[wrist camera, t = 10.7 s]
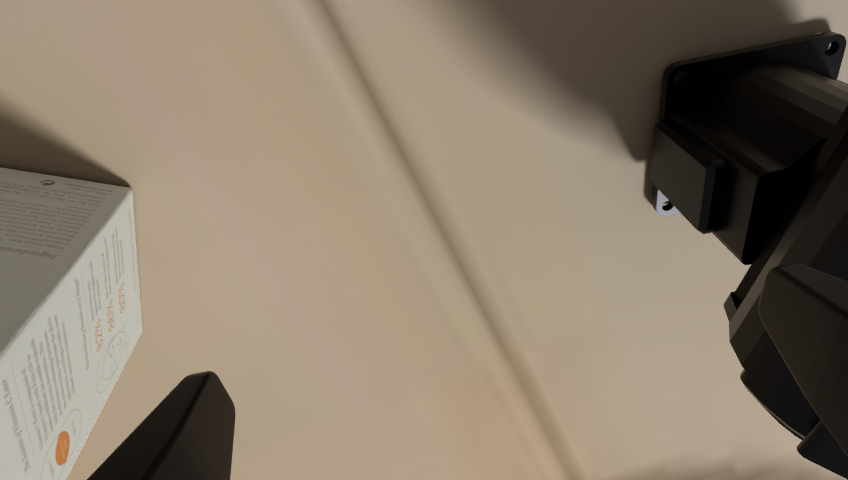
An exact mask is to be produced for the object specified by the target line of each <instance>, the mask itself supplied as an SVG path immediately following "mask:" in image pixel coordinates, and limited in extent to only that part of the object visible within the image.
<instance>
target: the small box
mask: <svg viewBox="0 0 848 480" xmlns="http://www.w3.org/2000/svg"><path fill="white" fill-rule="evenodd" d="M142 331H143V328H142V318H141V304H140V289H139V277H138V262H137V248H136V235H135V221H134V206H133V191H132V188H129V187H122V186H116V185H110V184H103V183H97V182H91V181H85V180H78V179H72V178H65V177H59V176H52V175H46V174H39V173H33V172H27V171H20V170H14V169H8V168H2V167H0V480H66V479H67V477H68V475H69V473H70V471H71V469H72V467H73V465H74V463H75V462H76V460H77V458H78V456H79V454H80V452H81V450H82V448H83V446H84V444H85V442H86V440H87V438H88V436H89V434H90V432H91V430H92V428H93V426H94V424H95V422H96V420H97V419H98V417H99V415H100V413H101V411H102V409H103V407H104V405H105V403H106V401H107V399H108V397H109V395H110V393H111V391H112V390H113V388H114V386H115V384H116V382H117V380H118V378H119V376H120V374H121V372H122V370H123V368H124V366H125V364H126V363H127V361H128V359H129V357H130V355H131V353H132V351H133V349H134V347H135V345H136V343H137V341H138V339H139V337H140V335H141V334H142Z"/></svg>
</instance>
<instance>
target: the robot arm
mask: <svg viewBox="0 0 848 480" xmlns="http://www.w3.org/2000/svg"><path fill="white" fill-rule="evenodd" d="M830 43H831V46H830V48H829V49H828V50H827V51H826V52H825V49H826V47H827V45H828V44H830ZM845 47H846V39H845V37H844V36H843V35H841V34H838V33H834V32H825V33H820V34H815V35H810V36H805V37H800V38H795V39H790V40H785V41H780V42H775V43H770V44H765V45H760V46H755V47H750V48H745V49H740V50H735V51H730V52H724V53H719V54H714V55H709V56H704V57H699V58H694V59H689V60H684V61H679V62H676V63H673V64H671V65H670V66H669V67H667V69H666V70H665V72H664V74H663V78H662V89H661V101H660V114H659V120H658V121H657V123H656V124H655V126H654V131H653V145H652V158H651V171H650V181H651V182H652V183H653V184H654V188H653V201H652V205H653V208H654V209H655V210H656V211H657V212H658V213H659V214H660V215H662V216H668V215H673V214H678V213H681V214H682V215H683V216H684V217H685V218H686V219H687V220H688V221H689V222H690V223H691V224H692V225H693V226H694V227H695V228H696V229H697V230H698V231H700V232H701V233H703V234H707V233H713V234H714V235H715V236H716V237H717V238H718V239H719V240H720V241H721V242H722V243H723V244H724V245H725V246H726V247H727V248H728V249H729V250H730V251H731V252H732V253H733V254H734V255H735V256H736V257H737V258H738V259H739V260H740V261H741V262H742V263H743V264H744V265H750V264H752V265H751V266H750V268H749V270H748V271H747V273H746V275H745V276H744V278H743V280H742V281H741V283H740V285H739V286H738V288H737V290H736V291H735V292H731V293H730V295H729V296H728V298H727V300H726V301H725V303H724V308H725V311H726V314H727V317H728V320H729V336H730V343H731V345H732V347H733V349H734V351H735V353H736V355H737V357H738V359H739V361H740V363H741V365H742V366H743V368H744V370H743V372H742V373H741V374H740V378H741V380H742V382H743V384H744V385H745V387H746V388H747V390H748V391H749V392H750V393H751V394H752V395H753V396H754V397H755V398H756V399H757V401H758V402H759V403H760V404H761V405H762V406H763V407H764V408H765V409H766V410H767V411H768V412H769V413H770V414H771V415H772V416H773V417H774V418H775V419H776V420H777V421H778V422H779V423H780V424H781V425H782V426H784V427H785V428H786V429H787V430H789V431H790V432H791V433H793V434H794V435H795V436H796V437H798V438H800V439H801V440H802V441H801V442H800V444H799V445H798V446H797V451H798V452H799V454H800V455H802V456H803V457H804V458H806V459H808V460H810V461H812V462H814V463H816V464H818V465H820V466H822V467H824V468H826V469H828V470H830V471H832V472H834V473H836V474H838V475H840V476H842V477H844V478H846V479H848V84H846V83H844V82H842V81H839V80H837V77H838V73H839V70H840V66H841V62H842V59H843V55H844V51H845ZM679 72H682V73H683V75H682V77H681V79H680V80H679V81H677V82H674V78H675V76H676V75H677V74H678V73H679ZM666 201H669V203H668V204H667V205H665V206H663V204H664V203H665V202H666ZM234 426H235V407H234V404H233V401H232V400H231V398H230V396H229V394H228V393H227V391H226V389H225V388H224V386H223V384H222V383H221V381H220V379H219V377H218V376H217V375H216V374H215V373H214V372H212V371H207V372H201V373H196V374H191V375H188V376H186V377H185V378H184V379H183V380H182V381H181V382H180V383H179V384H178V385H177V386H176V387H175V388H174V389H173V390H172V391H171V392H170V393H169V394H168V395H167V397H166V398H165V399H164V400H163V401H162V402H161V403H160V404H159V405H158V406H157V407H156V408H155V409H154V410H153V411H152V412H151V413H150V414H149V415H148V416H147V417H146V418H145V419H144V421H143V422H142V423H141V424H140V425H139V426H138V427H137V428H136V429H135V430H134V431H133V432H132V433H131V434H130V435H129V436H128V437H127V438H126V439H125V440H124V441H123V442H122V443H121V445H120V446H119V447H118V448H117V449H116V450H115V451H114V452H113V453H112V454H111V455H110V456H109V457H108V458H107V459H106V460H105V461H104V462H103V463H102V464H101V465H100V466H99V468H98V469H97V470H96V471H95V472H94V473H93V474H92V475H91V476H90V477H89V478H88V479H87V480H230V475H231V463H232V451H233V438H234Z"/></svg>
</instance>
